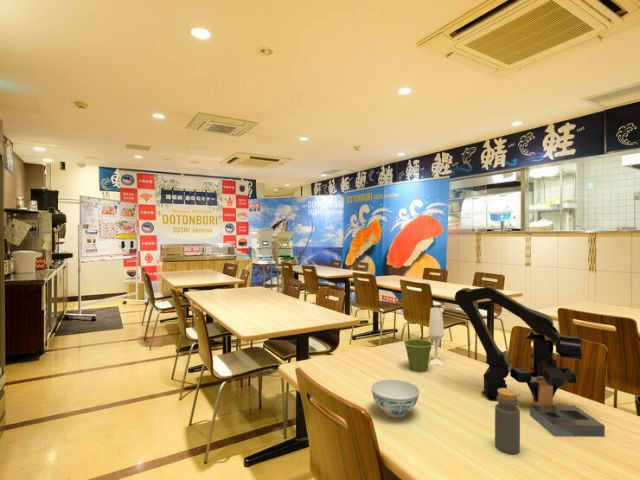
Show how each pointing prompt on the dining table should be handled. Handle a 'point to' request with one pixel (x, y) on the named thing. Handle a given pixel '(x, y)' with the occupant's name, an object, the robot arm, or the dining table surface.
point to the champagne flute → (436, 330)
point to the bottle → (507, 422)
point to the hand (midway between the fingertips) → (542, 401)
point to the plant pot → (418, 353)
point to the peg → (544, 394)
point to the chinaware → (395, 396)
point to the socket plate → (566, 421)
